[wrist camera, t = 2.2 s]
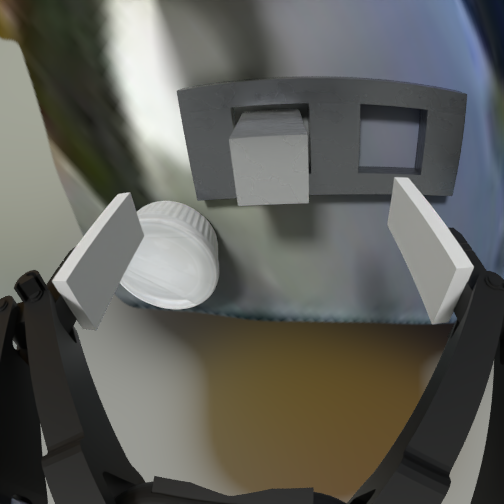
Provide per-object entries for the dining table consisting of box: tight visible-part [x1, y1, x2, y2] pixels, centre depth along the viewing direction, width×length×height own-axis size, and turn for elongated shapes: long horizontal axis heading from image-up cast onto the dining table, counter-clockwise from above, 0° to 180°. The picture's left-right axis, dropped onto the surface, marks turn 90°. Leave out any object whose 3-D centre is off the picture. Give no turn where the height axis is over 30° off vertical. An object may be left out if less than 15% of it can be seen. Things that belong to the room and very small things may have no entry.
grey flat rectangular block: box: [177, 77, 467, 201], centre depth 23 cm, size 24×10×2 cm, turn 95°
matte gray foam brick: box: [229, 109, 309, 206], centre depth 21 cm, size 4×4×8 cm
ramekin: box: [120, 201, 219, 309], centre depth 29 cm, size 11×11×5 cm
